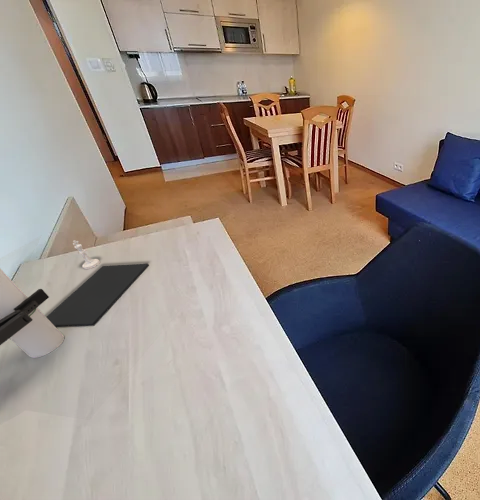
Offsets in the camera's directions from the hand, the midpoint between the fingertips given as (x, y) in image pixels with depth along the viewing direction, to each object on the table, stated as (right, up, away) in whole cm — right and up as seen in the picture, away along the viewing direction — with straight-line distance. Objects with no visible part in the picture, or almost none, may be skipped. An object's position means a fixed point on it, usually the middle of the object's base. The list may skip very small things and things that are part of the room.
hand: (28, 293), depth 72 cm
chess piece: (-12, +5, +32) cm, 35 cm away
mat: (+1, -3, +19) cm, 19 cm away
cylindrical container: (+1, -14, +3) cm, 14 cm away
